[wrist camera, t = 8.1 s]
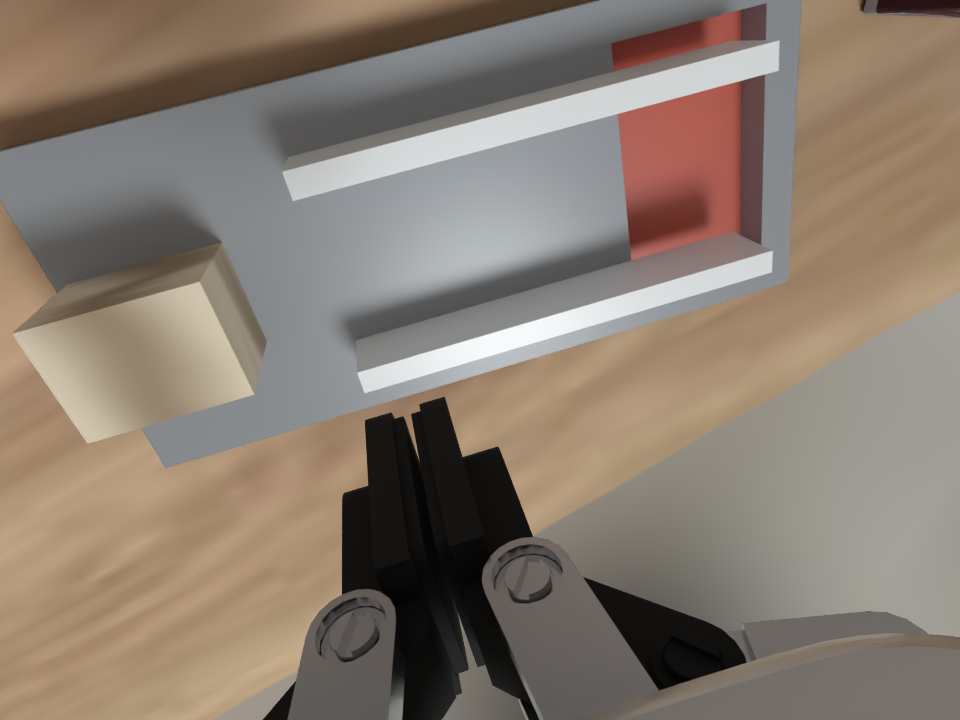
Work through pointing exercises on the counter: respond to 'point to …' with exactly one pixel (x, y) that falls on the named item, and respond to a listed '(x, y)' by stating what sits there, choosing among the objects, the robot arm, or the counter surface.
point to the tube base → (446, 199)
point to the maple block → (147, 343)
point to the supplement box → (914, 8)
